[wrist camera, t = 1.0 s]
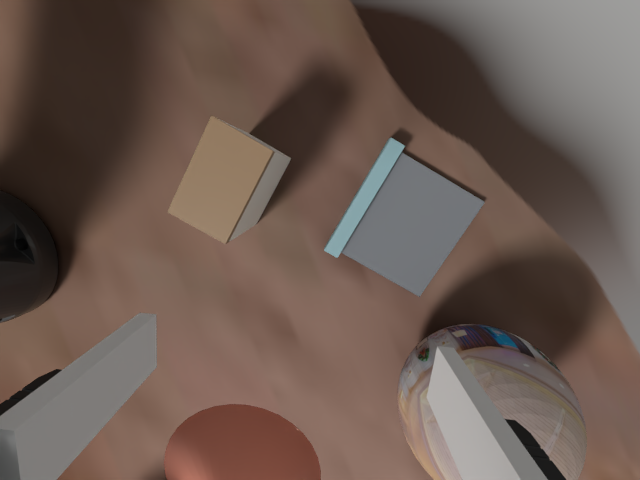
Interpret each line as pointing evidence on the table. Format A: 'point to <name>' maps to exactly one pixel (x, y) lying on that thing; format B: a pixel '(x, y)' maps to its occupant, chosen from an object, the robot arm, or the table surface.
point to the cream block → (228, 181)
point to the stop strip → (364, 196)
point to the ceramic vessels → (239, 447)
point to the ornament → (494, 397)
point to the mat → (411, 225)
